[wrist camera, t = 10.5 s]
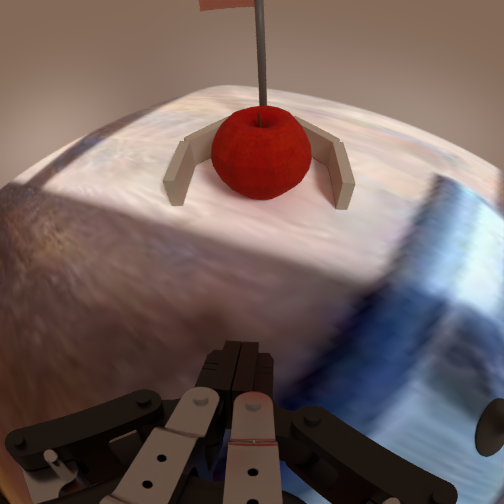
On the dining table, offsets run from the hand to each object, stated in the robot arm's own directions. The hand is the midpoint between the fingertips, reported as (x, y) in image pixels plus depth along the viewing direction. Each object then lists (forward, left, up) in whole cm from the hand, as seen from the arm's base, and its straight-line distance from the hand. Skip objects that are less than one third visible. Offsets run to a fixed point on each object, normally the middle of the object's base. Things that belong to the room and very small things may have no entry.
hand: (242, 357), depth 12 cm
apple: (-13, +9, -4) cm, 16 cm away
